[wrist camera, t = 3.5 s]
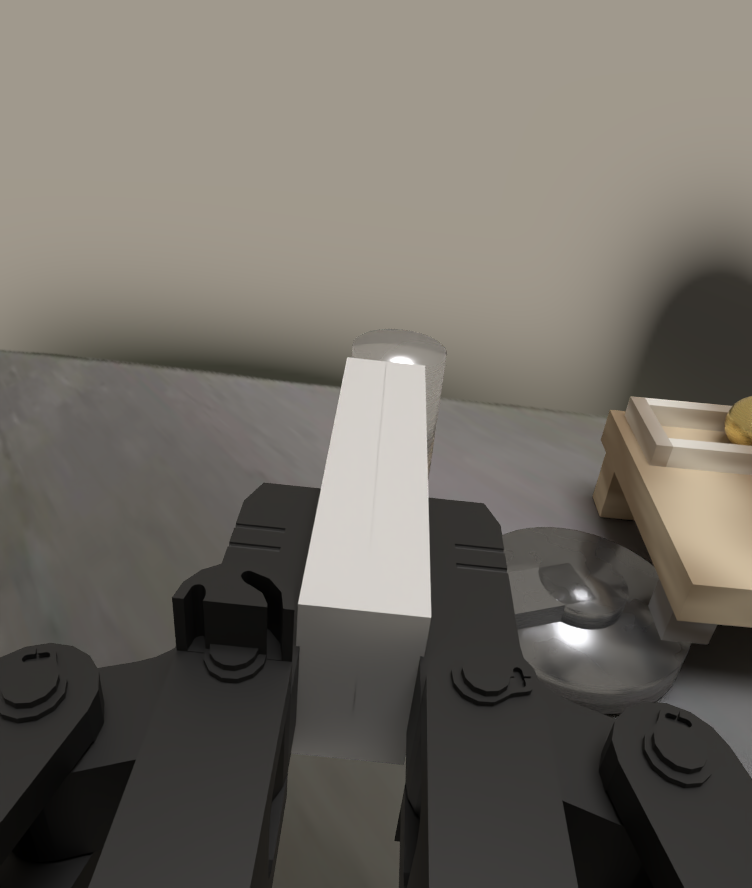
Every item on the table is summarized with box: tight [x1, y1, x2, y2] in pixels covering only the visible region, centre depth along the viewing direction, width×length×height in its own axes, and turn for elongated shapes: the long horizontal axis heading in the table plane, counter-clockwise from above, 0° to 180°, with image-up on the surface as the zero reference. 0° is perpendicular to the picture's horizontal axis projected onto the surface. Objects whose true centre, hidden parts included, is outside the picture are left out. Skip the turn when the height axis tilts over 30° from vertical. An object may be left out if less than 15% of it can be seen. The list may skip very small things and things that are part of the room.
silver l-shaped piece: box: [352, 329, 691, 714], centre depth 28 cm, size 16×10×15 cm, turn 107°
